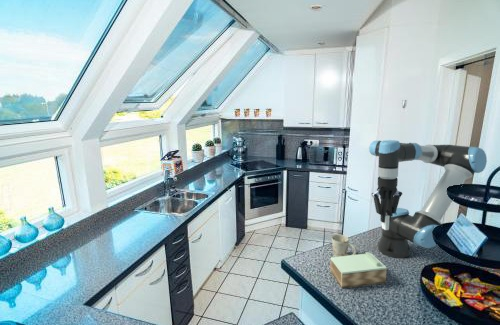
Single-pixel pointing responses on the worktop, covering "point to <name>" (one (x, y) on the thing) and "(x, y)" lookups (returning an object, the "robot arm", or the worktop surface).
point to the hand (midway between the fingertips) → (385, 228)
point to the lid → (357, 263)
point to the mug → (341, 245)
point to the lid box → (358, 277)
